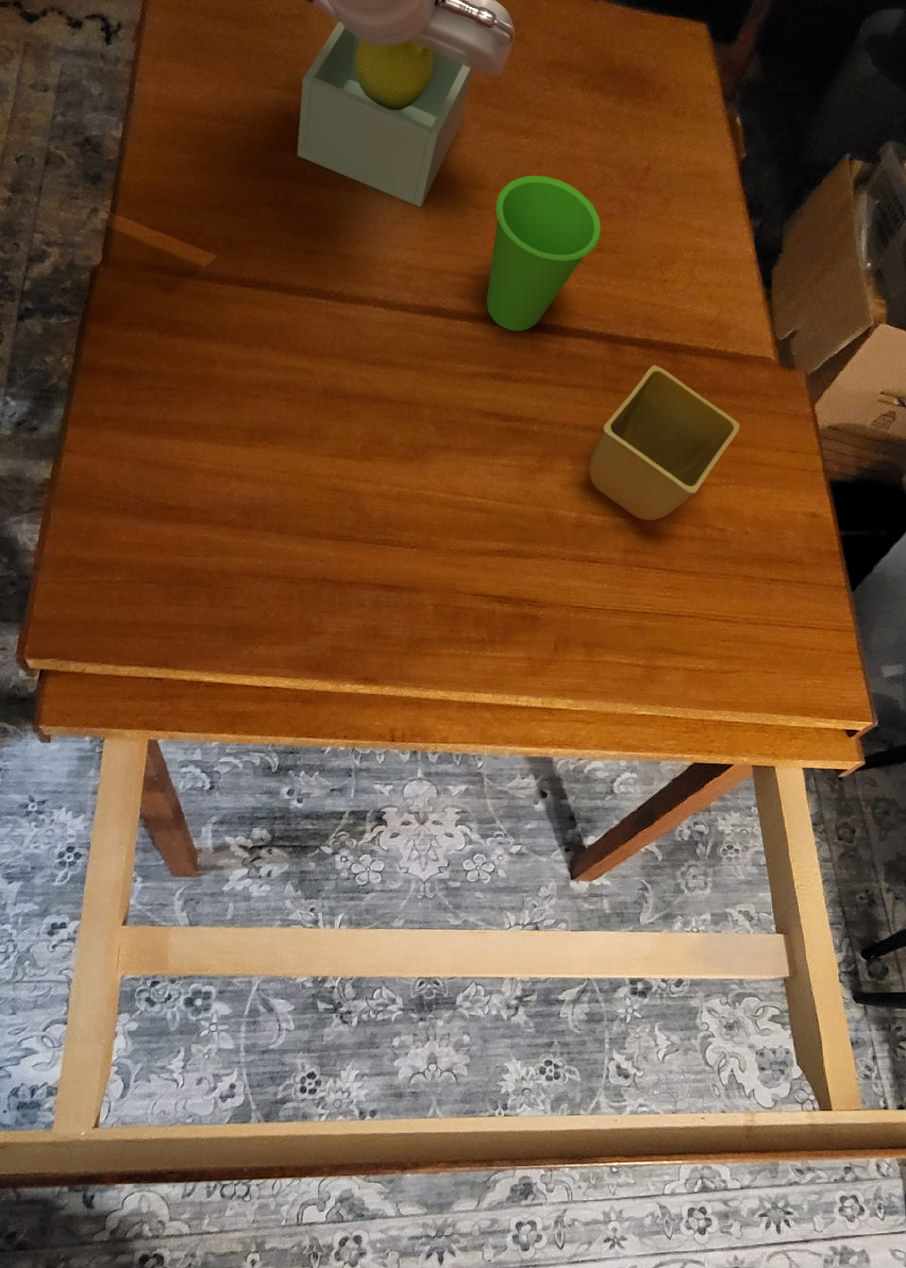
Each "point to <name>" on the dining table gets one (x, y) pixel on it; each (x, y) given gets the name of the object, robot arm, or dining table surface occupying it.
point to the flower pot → (659, 446)
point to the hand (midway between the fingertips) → (402, 28)
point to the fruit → (393, 73)
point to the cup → (537, 247)
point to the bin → (378, 122)
